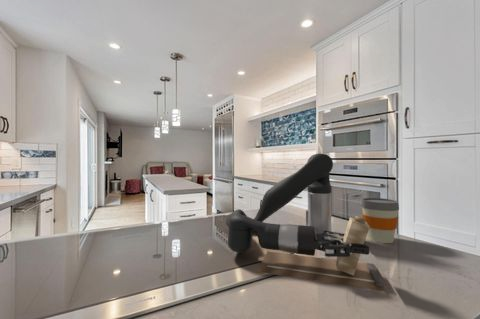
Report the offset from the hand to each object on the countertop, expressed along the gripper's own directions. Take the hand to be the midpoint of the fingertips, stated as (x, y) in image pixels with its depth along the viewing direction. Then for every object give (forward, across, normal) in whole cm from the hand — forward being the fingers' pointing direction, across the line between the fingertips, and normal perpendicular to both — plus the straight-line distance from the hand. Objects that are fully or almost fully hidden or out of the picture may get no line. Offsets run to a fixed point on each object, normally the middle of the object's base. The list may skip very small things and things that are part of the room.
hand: (366, 246), depth 58 cm
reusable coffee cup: (+11, -37, -9) cm, 39 cm away
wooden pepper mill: (-5, 0, -6) cm, 8 cm away
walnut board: (-12, 0, -9) cm, 15 cm away
